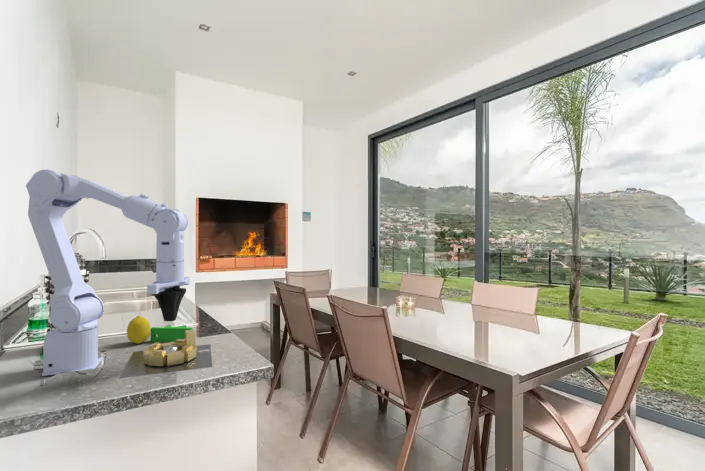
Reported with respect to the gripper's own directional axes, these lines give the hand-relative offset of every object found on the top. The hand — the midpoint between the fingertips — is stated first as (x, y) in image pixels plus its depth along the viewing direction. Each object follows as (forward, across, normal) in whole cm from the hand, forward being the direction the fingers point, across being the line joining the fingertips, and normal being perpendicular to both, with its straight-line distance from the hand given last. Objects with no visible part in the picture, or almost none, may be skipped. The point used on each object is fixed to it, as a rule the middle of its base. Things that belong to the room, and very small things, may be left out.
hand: (170, 320), depth 86 cm
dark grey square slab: (+10, +3, +1) cm, 11 cm away
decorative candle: (+11, +11, +34) cm, 37 cm away
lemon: (+11, +14, +17) cm, 24 cm away
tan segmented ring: (+10, +3, +1) cm, 10 cm away
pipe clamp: (+11, +18, +9) cm, 23 cm away
